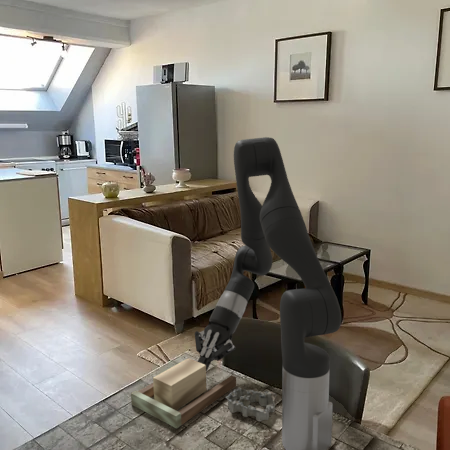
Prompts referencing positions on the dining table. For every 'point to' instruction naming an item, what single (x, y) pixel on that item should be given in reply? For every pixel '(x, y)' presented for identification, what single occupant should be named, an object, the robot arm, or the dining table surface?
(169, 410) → the wooden tray frame
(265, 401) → the egg carton
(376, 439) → the dining table surface
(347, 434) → the dining table surface
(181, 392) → the maple block
